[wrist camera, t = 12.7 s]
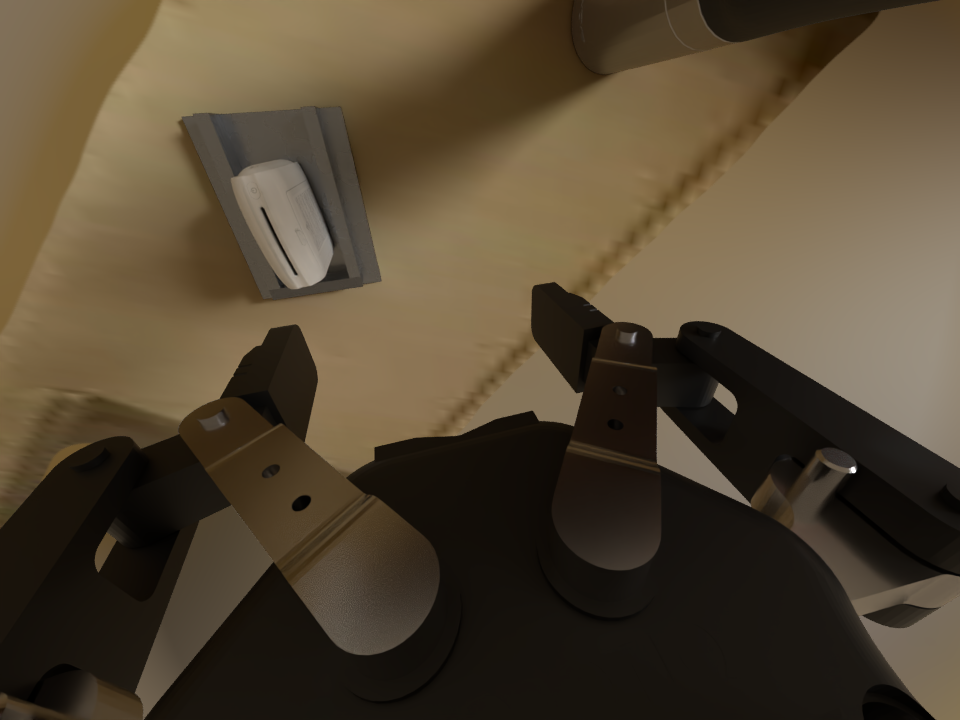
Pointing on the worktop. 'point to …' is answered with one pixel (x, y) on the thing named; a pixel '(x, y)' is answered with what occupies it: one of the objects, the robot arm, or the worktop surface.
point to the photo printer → (285, 221)
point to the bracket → (326, 166)
